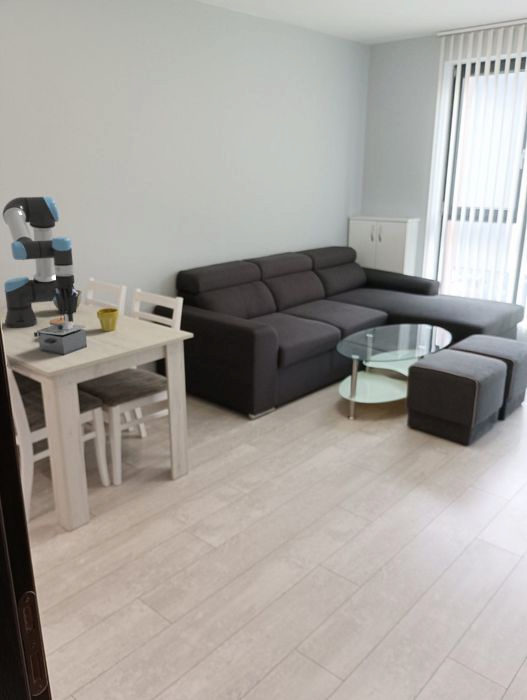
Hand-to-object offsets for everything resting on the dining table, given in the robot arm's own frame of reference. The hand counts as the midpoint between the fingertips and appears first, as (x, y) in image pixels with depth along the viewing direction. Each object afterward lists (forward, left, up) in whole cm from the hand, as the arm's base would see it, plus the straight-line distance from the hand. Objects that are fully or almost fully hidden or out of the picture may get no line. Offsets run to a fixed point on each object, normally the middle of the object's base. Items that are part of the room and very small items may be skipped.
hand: (69, 328), depth 251 cm
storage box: (-4, 0, -10) cm, 11 cm away
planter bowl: (-53, +54, -10) cm, 77 cm away
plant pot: (-8, +35, -10) cm, 37 cm away
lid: (-5, 0, -2) cm, 5 cm away
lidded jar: (-19, +15, -10) cm, 27 cm away
